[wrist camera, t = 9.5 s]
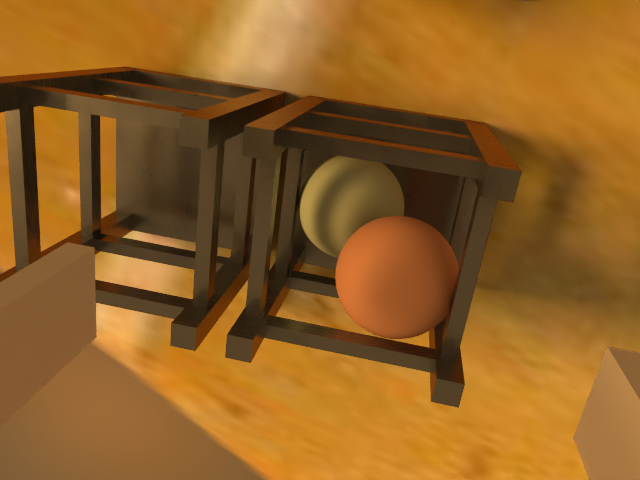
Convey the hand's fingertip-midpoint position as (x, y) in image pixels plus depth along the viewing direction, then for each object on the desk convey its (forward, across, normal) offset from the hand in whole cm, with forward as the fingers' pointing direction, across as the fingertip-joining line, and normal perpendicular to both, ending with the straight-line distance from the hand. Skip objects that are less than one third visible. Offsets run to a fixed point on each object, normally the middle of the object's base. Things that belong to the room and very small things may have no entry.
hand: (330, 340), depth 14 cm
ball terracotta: (+9, +2, -2) cm, 9 cm away
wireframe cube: (+16, -10, 0) cm, 19 cm away
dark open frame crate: (+16, 0, 0) cm, 16 cm away
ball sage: (+13, -1, 0) cm, 13 cm away
